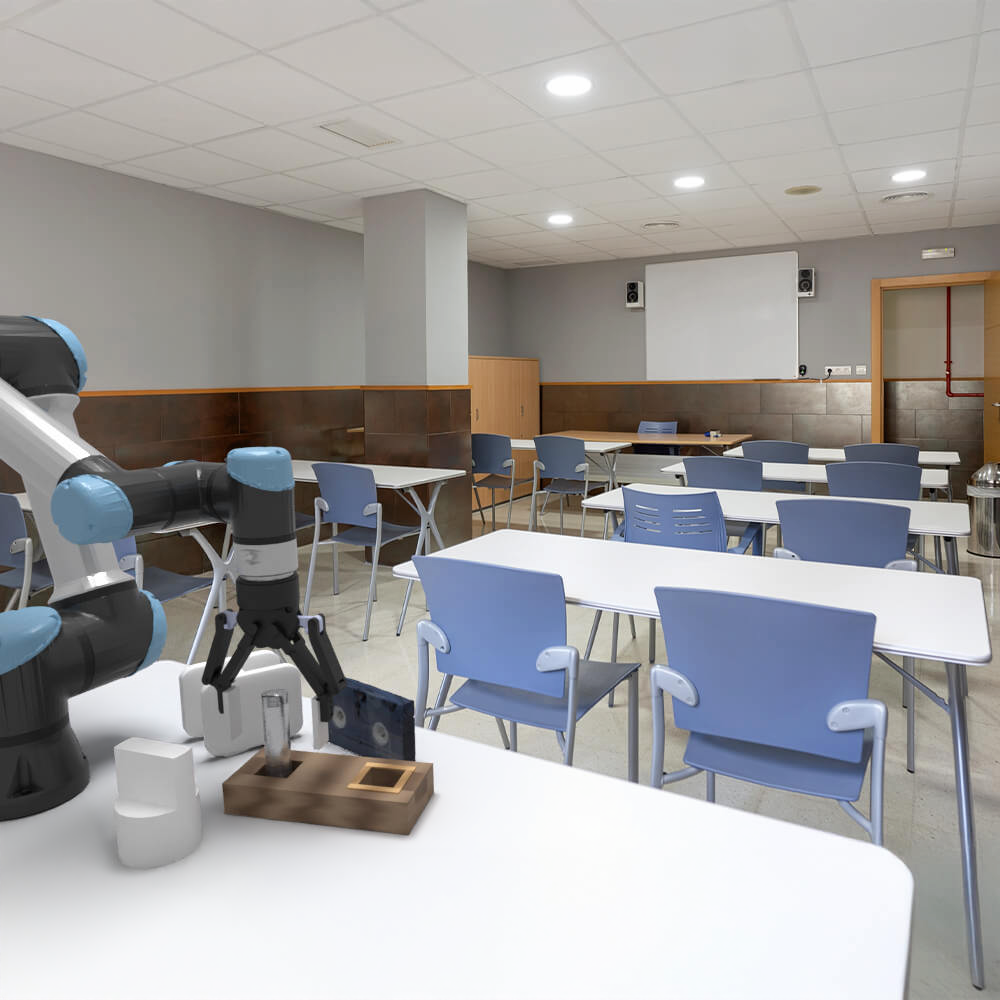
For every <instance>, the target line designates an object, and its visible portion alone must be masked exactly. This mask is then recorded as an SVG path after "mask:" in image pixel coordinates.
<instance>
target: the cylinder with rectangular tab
mask: <svg viewBox="0 0 1000 1000" xmlns="http://www.w3.org/2000/svg"><path fill="white" fill-rule="evenodd" d="M113 750H114V751H113V753H114V764H115V773H116V785H117V786H116V787H117V794H118V795H117V796H118V797H117V798H116V799H115V801H114V804H113V809H114V811H113V812H114V821H115V823H114V824H115V830H116V831H115V832H116V840H117V841H116V842H117V855H118V858H119V861H120V862H121V863H122V864H123V865H125V866H128V867H131V868H137V869H153V868H159V867H163V866H167V865H171V864H174V863H176V862H178V861H180V860H182V859H185V858H186V857H187V856H189V855H191V854H192V853H194V852H195V851H196V850H197V848H199V847H200V845H201V844H202V841H203V825H202V810H201V809H202V808H201V799H200V797H201V796H200V787H199V785H198V784H197V783H196V779H195V766H194V765H195V764H194V753H193V747H192V746H189V745H183V744H179V743H173V742H172V743H171V742H166V741H160V740H155V739H154V740H153V739H148V738H143V737H137V736H132V737H130V738H128V739H125V740H124V741H121V742H120V743H119V744H117V745H116V746H114V747H113Z"/></svg>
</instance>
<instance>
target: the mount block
mask: <svg viewBox="0 0 1000 1000" xmlns="http://www.w3.org/2000/svg"><path fill="white" fill-rule="evenodd" d="M291 759H292V774H291V775H290V776H289V777H288V778H278V777H268V776H266V763H265V747H261V749H259V750H258V751H257V752H256V753H255V754H254V755H253V756H251V758H249V759H248V760H247V761H246V762H244V763H243V764H242V765H241V766H240V767H239V768H238V769H237V770H236V771H234V772H232V774H231V775H230V776H229V777H227V778H226V779H225V780H224V781H223V782H222V783H221V785H222V787H221V789H222V800H223V814H225V815H234V816H241V817H251V818H259V819H268V820H277V821H284V822H285V821H287V822H293V823H294V822H295V823H302V824H310V825H318V826H319V825H320V826H328V827H329V826H330V827H337V828H346V829H353V830H354V829H355V830H364V831H372V832H380V833H381V832H382V833H388V834H389V833H390V834H398V835H406V836H407V835H408V836H409V835H410V833H411V831H412V829H413V828H414V827H415V824H416V823H417V821H418V820H419V819H420V816H421V815H422V814H423V812H424V810H425V809H426V806H427V804H428V803H429V801H430V800H431V798H432V796H433V795H434V793H435V784H434V782H435V781H434V763H433V762H424V761H423V762H422V761H416V762H415V761H404V760H393V759H382V758H372V757H362V756H359V755H350V754H349V755H348V754H338V753H328V752H315V751H307V750H305V751H304V750H297V749H291Z"/></svg>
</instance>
